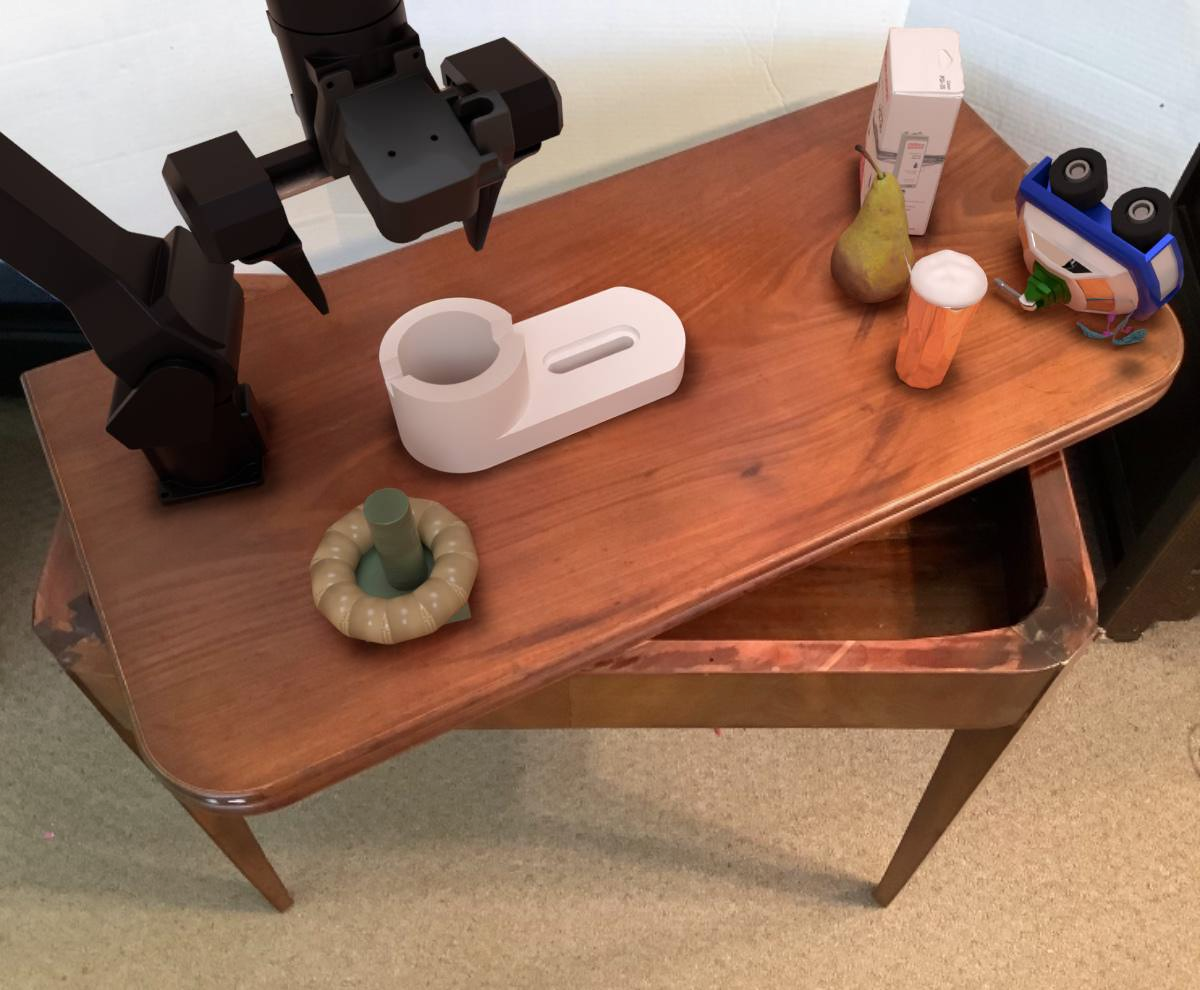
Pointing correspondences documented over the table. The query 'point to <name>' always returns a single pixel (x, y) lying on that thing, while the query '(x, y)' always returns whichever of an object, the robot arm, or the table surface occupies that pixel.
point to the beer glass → (937, 315)
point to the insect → (1126, 340)
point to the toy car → (1093, 240)
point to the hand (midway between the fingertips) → (401, 277)
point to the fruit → (875, 244)
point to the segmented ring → (406, 612)
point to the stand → (395, 550)
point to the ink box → (914, 116)
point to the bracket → (524, 373)
